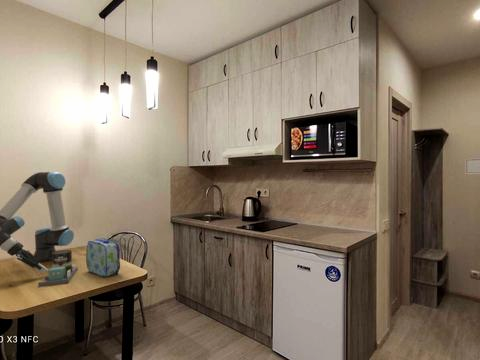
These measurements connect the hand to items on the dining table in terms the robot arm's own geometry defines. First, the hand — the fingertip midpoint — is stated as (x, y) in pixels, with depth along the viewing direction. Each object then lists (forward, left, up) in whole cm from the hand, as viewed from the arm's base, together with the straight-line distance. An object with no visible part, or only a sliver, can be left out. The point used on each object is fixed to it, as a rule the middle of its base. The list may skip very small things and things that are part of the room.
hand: (46, 271), depth 171 cm
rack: (+5, +8, -3) cm, 10 cm away
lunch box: (+6, +32, -3) cm, 33 cm away
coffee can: (-1, +8, -3) cm, 9 cm away
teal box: (+11, +9, -3) cm, 15 cm away
